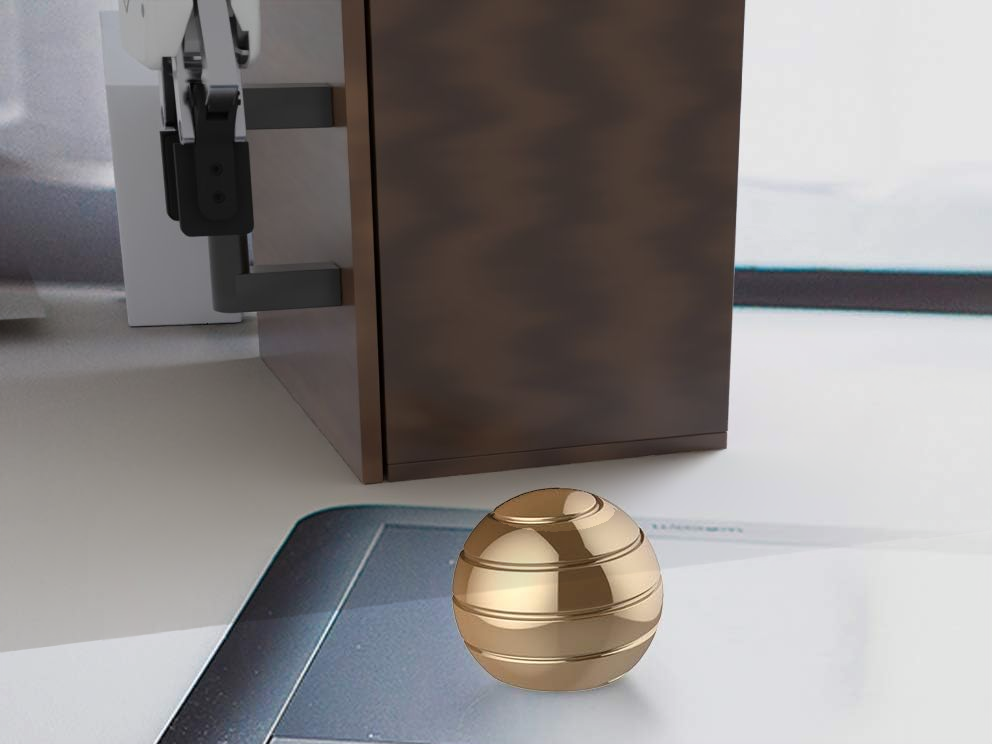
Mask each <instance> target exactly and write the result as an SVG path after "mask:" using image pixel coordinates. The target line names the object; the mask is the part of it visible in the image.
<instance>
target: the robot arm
mask: <svg viewBox="0 0 992 744" xmlns="http://www.w3.org/2000/svg"><path fill="white" fill-rule="evenodd" d="M117 1H118V3H117V4H118V10H119V25H120V39H121V45H122V48H123V49H124V50H125V51H126V52H127V53H128V54H129V55H131V56H132V57H133V58H134V59H136V60H137V61H138V62H140V63H141V64H142V65H144V66H145V67H147V68H148V69H150V70H158V81H159V96H160V110H161V121H162V126H163V129H164V130H175V131H160V142H161V154H162V166H163V177H164V189H165V201H166V211H167V214H168V216H169V217H170V218H171V219H172V220H174V221H179V223H180V229H181V231H182V232H183V233H184V234H185V235H186V236H188V237H202V236H222V235H243V234H247V235H249V234H250V233H251V232H252V231H253V229H254V216H253V201H252V186H251V171H250V156H249V142H247V141H246V124H245V112H244V101H243V90H242V78H241V68H242V69H247V68H249V67H250V66H252V65H253V64H254V63H255V62H256V61H257V60H258V58H259V56H260V49H261V19H260V0H117ZM251 234H252V233H251Z"/></svg>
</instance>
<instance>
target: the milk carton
mask: <svg viewBox="0 0 992 744" xmlns="http://www.w3.org/2000/svg"><path fill="white" fill-rule="evenodd" d="M99 23H100V34H101V47H102V62H103V71H104V72H103V73H104V76H103V77H104V85H105V97H106V108H107V117H108V127H109V137H110V149H111V158H112V159H111V160H112V170H113V179H114V190H115V200H116V201H115V202H116V208H117V209H116V210H117V211H116V212H117V221H118V229H119V231H118V233H119V243H120V251H121V262H122V272H123V274H122V275H123V282H124V292H125V303H126V314H127V322H128V326H129V327H154V326H176V325H177V326H178V325H180V326H181V325H182V326H183V325H203V324H204V325H205V324H207V323H208V324H229V323H230V324H233V323H241V322H242V319H243V313H221V312H217V311H214V310H213V302H212V289H211V277H210V264H209V251H208V238H207V236H202V237H188V236H186V235H185V234H184V233H183V232H182V231H181V229H180V223H179V221H174V220H172V219H171V218H170V217H169V216H168V214H167V211H166V201H165V189H164V177H163V166H162V154H161V142H160V131H175V130H164V129H163V126H162V121H161V110H160V96H159V81H158V70H150V69H148V68H147V67H145V66H144V65H142V64H141V63H140V62H138V61H137V60H136V59H134V58H133V57H132V56H131V55H129V54H128V53H127V52H126V51H125V50H124V49H123V48H122V45H121V39H120V25H119V9H117V10H116V9H115V10H114V9H113V10H111V9H109V10H107V9H105V10H104V9H101V10H99Z"/></svg>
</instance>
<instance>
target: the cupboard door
mask: <svg viewBox="0 0 992 744" xmlns="http://www.w3.org/2000/svg"><path fill="white" fill-rule="evenodd" d="M260 19H261V49H260V56H259V58H258V60H257V61H256V62H255V63H254V64H253V65H252V66H250V67H249V68H247V69H242V68H241V78H242V90H243V101H244V112H245V124H246V141H247V142H249V156H250V171H251V186H252V201H253V216H254V229H253V231H252V232H251V245H252V261H253V262H252V263H253V265H250V253H249V237H248V236H249V235H248V234H243V235H222V236H207V238H208V251H209V264H210V277H211V289H212V302H213V310H214V311H217V312H221V313H242V314H243V313H256V322H257V331H258V332H257V335H258V348H259V349H258V351H259V357H260V358H261V359H262V360H263V362H264V363H265V364H266V365H267V367H268V368H269V369H270V370H271V371H272V373H273V375H275V376H276V378H277V379H278V380H279V381H280V383H281V384H282V385H283V386H284V388H285V389H286V390H287V392H288V393H289V394H290V395H291V397H292V398H294V400H295V401H296V403H297V404H298V405H299V406H300V407H301V409H302V410H303V411H304V412H305V414H306V415H307V416H308V417H309V418H310V420H311V421H312V422H313V424H315V426H316V427H317V429H318V430H319V431H320V432H321V434H322V436H324V437H325V438H326V440H327V442H329V444H330V445H331V446H332V447H333V448H334V449H335V451H336V452H337V454H338V455H339V456H340V457H341V458H342V459H343V461H344V462H345V464H347V466H348V467H349V468H350V470H351V471H352V472H353V474H355V476H356V477H357V478H358V479H359V481H360V482H361V483H362V484H363V485H365V484H366V485H367V484H377V483H383V482H384V477H383V466H382V441H381V416H380V391H379V366H378V341H377V316H376V291H375V266H374V241H373V216H372V191H371V166H370V141H369V116H368V91H367V66H366V41H365V16H364V0H260Z"/></svg>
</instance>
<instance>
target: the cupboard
mask: <svg viewBox="0 0 992 744" xmlns="http://www.w3.org/2000/svg"><path fill="white" fill-rule="evenodd" d="M746 2H747V0H364V16H365V41H366V66H367V91H368V116H369V141H370V166H371V191H372V216H373V241H374V266H375V291H376V316H377V341H378V366H379V391H380V416H381V441H382V466H383V479H385V481H386V482H387V483H400V482H401V483H402V482H409V481H410V482H411V481H419V480H430V479H440V478H449V477H459V476H460V477H461V476H469V475H479V474H489V473H499V472H507V471H508V472H509V471H518V470H528V469H537V468H539V469H540V468H548V467H549V468H550V467H558V466H569V465H579V464H588V463H597V462H607V461H617V460H626V459H627V460H628V459H637V458H647V457H656V456H657V457H659V456H665V455H676V454H686V453H697V452H704V451H705V452H707V451H715V450H716V451H717V450H725V449H727V448H728V431H729V413H730V411H729V409H730V389H731V388H730V387H731V384H730V383H731V366H732V365H731V362H732V341H733V340H732V338H733V315H734V294H735V293H734V292H735V267H736V266H735V265H736V245H737V244H736V243H737V217H738V196H739V173H740V171H739V168H740V149H741V148H740V146H741V125H742V124H741V122H742V101H743V100H742V97H743V74H744V73H743V72H744V54H745V53H744V52H745V51H744V50H745V49H744V47H745V28H746V27H745V26H746V22H745V21H746Z"/></svg>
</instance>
